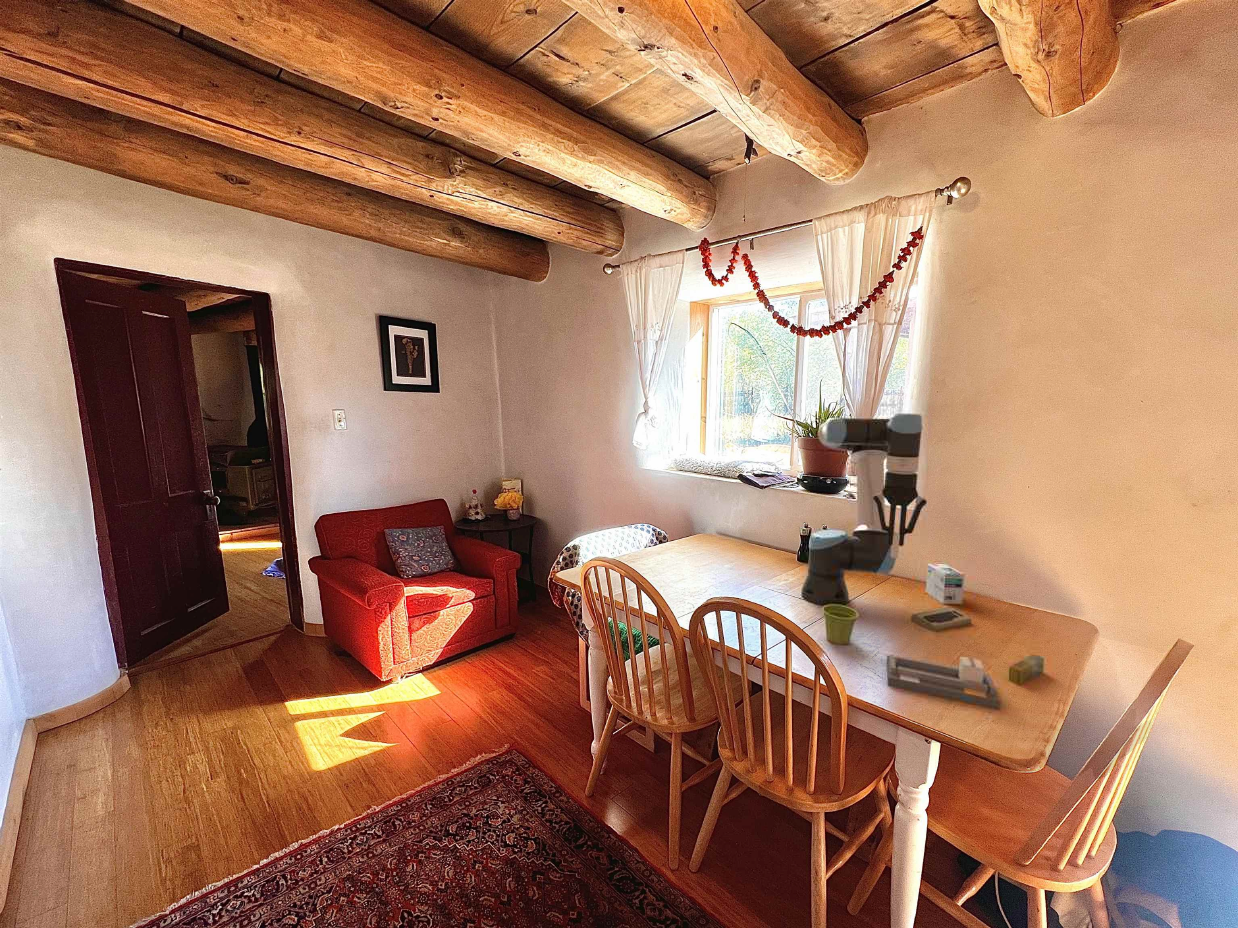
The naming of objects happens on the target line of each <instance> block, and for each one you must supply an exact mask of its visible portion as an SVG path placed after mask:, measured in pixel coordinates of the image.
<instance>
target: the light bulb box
mask: <svg viewBox="0 0 1238 928" xmlns="http://www.w3.org/2000/svg"><path fill="white" fill-rule="evenodd" d="M965 577H966V576H965V573H963V572H961V571H960V570H958V569H955V568H954V567H952V566H949V565H948V564H946V563H942V564H941V563H940V564H939V563H927V571H926V584H925V585H926V586H925V593H926V594H927V593H928V595H929V596H931V597H932V598H934V599H935V600H936V601H937V602H940V603H941V604H943V605H945V604H947V605H949V604H950V605H963V598H964V588H965V587H964V585H965Z"/></svg>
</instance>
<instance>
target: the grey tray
mask: <svg viewBox="0 0 1238 928" xmlns="http://www.w3.org/2000/svg"><path fill="white" fill-rule="evenodd" d="M885 662H886V676H887V678H886V679H887V686H890V687H894V688H899V689H902V690H903V689H904V690H908V691H911V692H917V693H921V694H926V695H931V696H935V697H938V698H939V697H940V698H944V699H949V700H954V701H958V702H963V703H967V704H970V705H971V704H972V705H976V706H980V707H986V708H989V709H994V710H999V711H1000V709H1001V708H1000V707H1001V699H1000V697H999V695H998V693H997V688H996V685H995V684H994V682H993V680H992V677H991V674H990V673H987V672H983V681H982V684H980V683H975V682H970V681H965V680H960V679H959V676H958V674H959V667H956V666H950V665H946V664H941V663H940V664H939V663H935V662H929V661H926V660H921V659H914V658H910V657H905V656H900V655H896V656H895V655H894V654H889V655H886V661H885Z"/></svg>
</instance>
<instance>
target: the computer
mask: <svg viewBox="0 0 1238 928" xmlns="http://www.w3.org/2000/svg"><path fill="white" fill-rule="evenodd" d="M910 621H911V622H912V623H915V624H916V625H919V626H921V627H924V628H926V629H928V630H930V631H933V632H937V631H941V630H947V629H951V628H955V627H960V626H965V625H969V624H971V623H972V619H971V617H969V616H968V615H966V614H965V613H963V612H961V611H959V610H957V609H956V608H953V607H950V606H947V607H942V608H935V609H931V610H930V609H929V610H926V611H921V612H920V611H919V612H916V613H912V615H911V620H910Z"/></svg>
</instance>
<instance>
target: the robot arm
mask: <svg viewBox="0 0 1238 928" xmlns="http://www.w3.org/2000/svg"><path fill="white" fill-rule="evenodd" d="M922 430H923V417H922V415H921V414H918V413H892V414H890V417H888V418H857V417H856V418H852V417H847V418H845V417H832V418H831V417H830V418H828V419H827V420H826V421H825V422H823V423H822V424H821V425H820V426H819V428H818V430H817V439H818V441H819V442H820V443H821V444H822V446H824V447H827V448H829V449H832V450H835V451H845V452H851V457H852V458H853V459H854V460H855V461H856V522H857V523H856V528H854V529H853V530H852V532H851V535H848V534H847V532H846V531H844V530H842V529H841V530H838V529H823V530H818V531H816V532H813V533H812V534H811V535H810V538H809V545H808V548H809V550H808V551H809V553H808V566H807V575H806V578H805V580H804V581H803V585H802V587H801V596H802V598H803V599H804V600H806V601H808V602H811V603H814V604H817V605H822V606H826V605H842V606H845V605H847V604H848V603H849V597H850V594H849V590H848V588H847V584H846V583H847V582H846V580H845V579H846V578H845V572H846V571H847V572H857V573H858V572H859V573H869V574H870V573H871V574H876V575H877V574H882V575H885V574H886V575H887V574H890V573H891V572H892V570H893V569H894V566H895V563H896V559H898V558H899V549H900V547H903V546H904V543H905V535H907V534H913V532H914V529H915V526H916V524H917V521H918V519H919V517H920V514H921V511H922V509H923V508H924V507H925V505H926V504H927V503H928V501H927V500H926V498H925V497H922V496H921V495H919V492H918V491H917V486H918V485H917V483H918V474H917V472H918V471H919V459H920V450H921V449H920V448H921V439H922ZM885 460H886V464H885ZM885 469H886V470H887V471H886V472H885ZM885 500H886V501H887V502H888V504H889V505H890V506H889V507H890V508H889V519H888V525H887V524H886V511H885V510H886V508H885V507H886V504H885V502H886V501H885ZM914 500H915V506H914V509H913V511H912V513H911V517H910V519H909V522H908V524H907V527H906V522H907V513H908V506H910V504H912V503H913V501H914ZM897 507H900V516H899V528H898V529H899V530H898V531H899V532H898V531H897V532H896V531H895V521H896V512H897V511H896V510H897Z"/></svg>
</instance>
